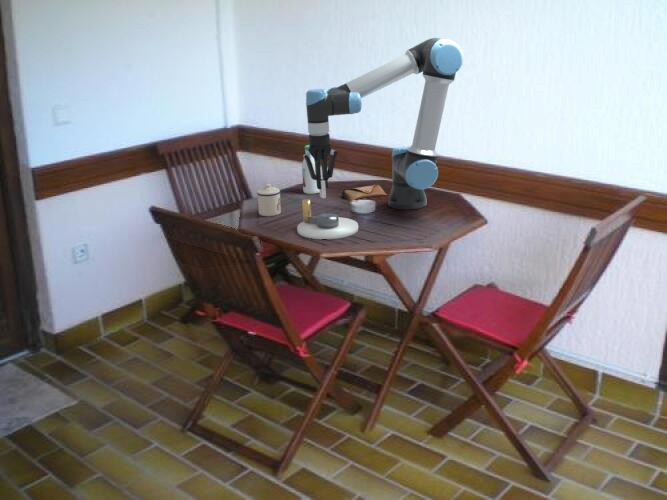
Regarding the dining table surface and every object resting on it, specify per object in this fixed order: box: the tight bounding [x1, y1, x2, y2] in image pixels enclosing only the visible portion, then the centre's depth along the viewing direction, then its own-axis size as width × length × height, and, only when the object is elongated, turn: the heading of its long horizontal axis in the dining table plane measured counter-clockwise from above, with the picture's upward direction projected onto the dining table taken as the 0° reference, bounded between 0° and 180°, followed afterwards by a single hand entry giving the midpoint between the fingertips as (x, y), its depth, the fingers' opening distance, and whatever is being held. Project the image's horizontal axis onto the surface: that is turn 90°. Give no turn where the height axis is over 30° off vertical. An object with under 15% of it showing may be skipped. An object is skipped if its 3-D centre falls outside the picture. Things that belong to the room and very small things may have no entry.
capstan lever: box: [301, 198, 339, 228], centre depth 281 cm, size 14×8×8 cm, turn 56°
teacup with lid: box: [256, 183, 282, 217], centre depth 304 cm, size 12×9×12 cm
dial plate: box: [296, 216, 359, 240], centre depth 281 cm, size 22×22×2 cm
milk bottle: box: [301, 144, 320, 195], centre depth 329 cm, size 8×8×20 cm
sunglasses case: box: [341, 183, 388, 202], centre depth 323 cm, size 18×7×7 cm, turn 116°
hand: (323, 197), depth 286 cm, fingers closed
